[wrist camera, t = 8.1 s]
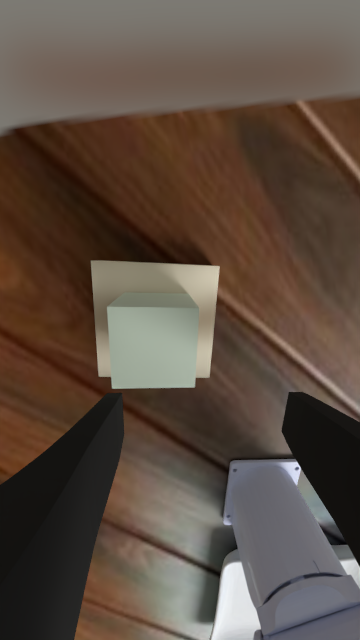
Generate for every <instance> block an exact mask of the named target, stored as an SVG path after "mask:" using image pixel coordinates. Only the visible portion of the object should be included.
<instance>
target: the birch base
mask: <svg viewBox="0 0 360 640" xmlns="http://www.w3.org/2000/svg"><path fill="white" fill-rule="evenodd" d="M219 267H220V266H214V265H193V264H171V263H148V262H126V261H103V260H96V261H91V271H92V286H93V301H94V315H95V330H96V345H97V360H98V374H99V377H111V364H110V348H109V331H108V315H107V306H108V305H110V304H111V303H112V302H113V301H115V300H116V299H117V298H118V297H120V296H121V295H122V294H123V293H125V292H134V293H183V294H189V295H190V296H191V298H192V299H193V300H194V302H195V303H196V304H197V306H198V307H199V324H198V342H197V359H196V377H195V378H209V376H210V365H211V354H212V343H213V332H214V322H215V311H216V300H217V289H218V278H219Z"/></svg>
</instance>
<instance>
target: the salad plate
mask: <svg viewBox="0 0 360 640" xmlns="http://www.w3.org/2000/svg"><path fill="white" fill-rule="evenodd" d="M331 547H332V549H333V550H334V552H335V554H336V556H337V557H338V559H339V561H340V563H341V564H342V566H343V568H344V570H345V571H346V573H347V575H352V577H353V578H354V580H355V582H356V584H357V585H358V587H359V589H360V567H359V565H358V563H357V561H356V559H355V557H354V556H353V554H352V552H351V550H350V548H349V546H348V545H331ZM258 629H261V626H260V622H259V619H258V615H257V611H256V609H255V607H254V605H253V603H252V601H251V598H250V595H249V592H248V588H247V584H246V580H245V576H244V571H243V567H242V563H241V559H240V555H239V551H238V549H236V550H234V551H232V552H230V553H229V554H228V555H227V556H226V557H225V559H224V562H223V566H222V571H221V576H220V583H219V592H218V600H217V607H216V613H215V619H214V624H213V629H212V633H211V636H210V640H253V637H254V632H255V631H256V630H258Z"/></svg>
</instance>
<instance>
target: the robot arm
mask: <svg viewBox="0 0 360 640" xmlns="http://www.w3.org/2000/svg"><path fill="white" fill-rule="evenodd" d="M282 433H283V435H284V437H285V440H286V442H287V444H288V446H289V448H290V450H291V452H292V454H293V456H294V458H295V459H269V460H234V461H232V462H231V463H230V467H229V475H228V483H227V491H226V498H225V506H224V514H223V522H224V524H225V525H232V526H233V531H234V535H235V539H236V543H237V547H238V551H239V555H240V559H241V563H242V567H243V571H244V576H245V580H246V584H247V588H248V592H249V595H250V598H251V601H252V603H253V605H254V607H255V609H256V611H257V615H258V619H259V622H260V626H261V629H258V630H256V631H255V632H254V637H253V640H360V589H359V587H358V585H357V584H356V582H355V580H354V578H353V577H352V575H347V573H346V571H345V570H344V568H343V566H342V564H341V563H340V561H339V559H338V557H337V556H336V554H335V552H334V550H333V549H332V547H331V545H330V543H329V542H328V540H327V538H326V536H325V535H324V533H323V531H322V529H321V528H320V526H319V524H318V522H317V521H316V519H315V517H314V515H313V514H312V512H311V510H310V508H309V507H308V505H307V503H306V501H305V500H304V498H303V496H302V494H301V493H300V491H299V489H298V487H297V483H298V478H299V474H300V470H301V469H302V471H303V472H304V474H305V475H306V477H307V479H308V480H309V482H310V483H311V485H312V486H313V488H314V490H315V491H316V493H317V494H318V496H319V498H320V499H321V501H322V502H323V504H324V505H325V507H326V509H327V510H328V512H329V513H330V515H331V517H332V518H333V520H334V521H335V523H336V525H337V527H338V528H339V530H340V532H341V533H342V535H343V537H344V539H345V541H346V542H347V544H348V546H349V548H350V550H351V552H352V554H353V556H354V557H355V559H356V561H357V563H358V565H359V567H360V422H358V421H356V420H355V419H353V418H351V417H349V416H347V415H345V414H344V413H342V412H340V411H338V410H336V409H334V408H333V407H331V406H329V405H327V404H325V403H323V402H322V401H320V400H318V399H316V398H314V397H312V396H310V395H308V394H306V393H303V392H289V395H288V400H287V405H286V410H285V415H284V421H283V426H282ZM123 437H124V421H123V400H122V393H107V394H106V395H105V396H104V397H103V398H102V399H101V400H100V401H99V402H98V403H97V404H96V405H95V406H94V407H93V408H92V409H91V410H90V411H89V412H88V413H87V414H86V415H85V416H84V417H83V418H81V419H80V420H79V421H78V422H77V423H76V424H75V425H74V426H73V427H72V428H71V429H70V430H69V431H68V432H66V433H65V434H64V435H63V436H62V437H61V438H60V439H58V440H57V441H56V442H55V443H54V444H53V445H52V446H50V447H49V448H48V449H47V450H46V451H45V452H43V453H42V454H41V455H40V456H38V457H37V458H36V459H35V460H33V461H32V462H31V463H29V464H28V465H27V466H26V467H24V468H23V469H22V470H20V471H19V472H18V473H16V474H15V475H14V476H12V477H11V478H9V479H8V480H7V481H5V482H4V483H3V484H1V485H0V640H74V637H75V632H76V627H77V623H78V618H79V613H80V609H81V604H82V599H83V594H84V590H85V585H86V581H87V576H88V572H89V567H90V563H91V558H92V554H93V549H94V545H95V541H96V537H97V534H98V530H99V526H100V523H101V520H102V516H103V513H104V510H105V506H106V503H107V500H108V496H109V493H110V490H111V486H112V483H113V479H114V476H115V473H116V469H117V466H118V462H119V458H120V453H121V448H122V443H123Z"/></svg>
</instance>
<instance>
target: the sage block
mask: <svg viewBox="0 0 360 640" xmlns="http://www.w3.org/2000/svg"><path fill="white" fill-rule="evenodd" d="M107 315H108V331H109V348H110V364H111V380H112V389H123V388H187V387H195V377H196V359H197V342H198V324H199V307H198V306H197V304H196V303H195V302H194V300H193V299H192V298H191V296H190V295H189V294H183V293H134V292H125V293H123V294H122V295H121V296H120V297H118V298H117V299H116V300H115V301H113V302H112V303H111V304H110V305H108V306H107Z"/></svg>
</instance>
